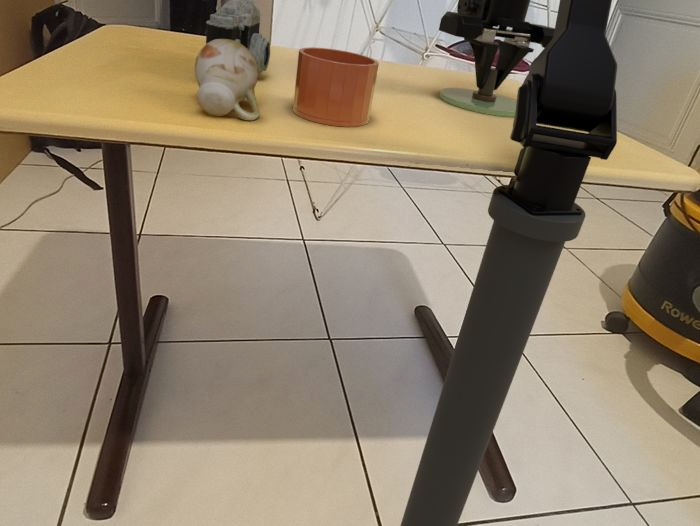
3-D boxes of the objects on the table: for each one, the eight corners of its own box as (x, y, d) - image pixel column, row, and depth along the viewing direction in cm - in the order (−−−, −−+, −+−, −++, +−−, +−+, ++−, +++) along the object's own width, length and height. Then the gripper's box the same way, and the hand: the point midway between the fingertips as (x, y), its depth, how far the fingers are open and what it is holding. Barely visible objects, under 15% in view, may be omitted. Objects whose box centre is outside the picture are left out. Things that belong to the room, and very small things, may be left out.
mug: (180, 119, 59) (172, 23, 59) (210, 137, 68) (204, 55, 68) (249, 112, 58) (242, 16, 58) (270, 132, 68) (264, 49, 68)
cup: (380, 128, 67) (391, 68, 64) (305, 124, 64) (312, 60, 60) (352, 106, 75) (361, 52, 71) (284, 102, 71) (290, 44, 68)
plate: (544, 119, 87) (545, 114, 86) (467, 114, 82) (469, 108, 81) (494, 95, 98) (495, 91, 98) (424, 89, 93) (425, 84, 92)
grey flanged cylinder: (500, 103, 89) (508, 71, 86) (480, 101, 87) (488, 69, 85) (487, 96, 92) (495, 66, 89) (467, 95, 90) (475, 64, 88)
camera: (250, 91, 73) (256, 9, 68) (200, 82, 73) (202, -1, 68) (274, 72, 86) (280, 2, 81) (231, 64, 86) (234, -7, 81)
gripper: (533, -17, 91) (506, 81, 99) (433, -35, 84) (412, 72, 92) (579, -9, 82) (545, 97, 90) (472, -29, 75) (445, 89, 83)
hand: (486, 88), depth 89 cm, fingers closed on grey flanged cylinder, 2 cm apart
